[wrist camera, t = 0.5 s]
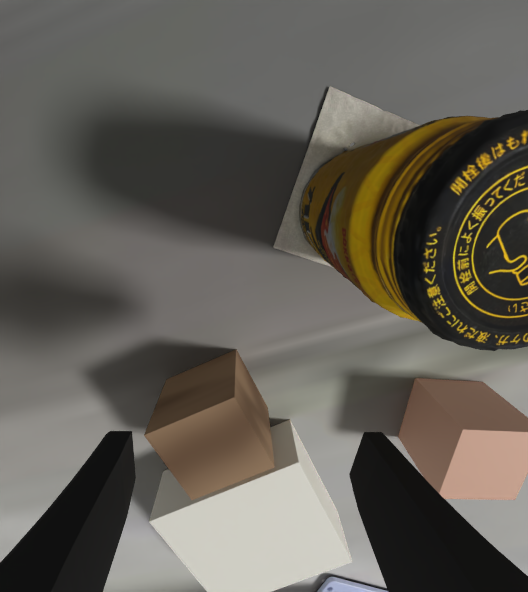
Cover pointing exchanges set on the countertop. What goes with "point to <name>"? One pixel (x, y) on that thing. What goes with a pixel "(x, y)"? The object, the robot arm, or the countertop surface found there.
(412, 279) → the condiment
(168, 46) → the countertop surface
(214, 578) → the base block
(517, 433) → the terracotta block
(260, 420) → the walnut cube
